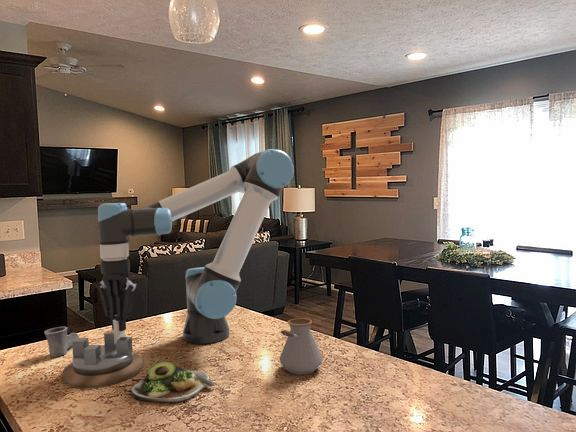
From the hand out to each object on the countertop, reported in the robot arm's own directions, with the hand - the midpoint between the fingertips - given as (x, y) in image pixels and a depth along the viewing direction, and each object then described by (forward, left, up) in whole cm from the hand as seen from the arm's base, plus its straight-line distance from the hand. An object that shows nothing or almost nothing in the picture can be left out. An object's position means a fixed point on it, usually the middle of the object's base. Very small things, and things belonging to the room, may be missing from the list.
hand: (119, 341), depth 129 cm
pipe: (+22, -11, -7) cm, 26 cm away
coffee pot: (-49, +10, -7) cm, 51 cm away
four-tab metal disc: (+3, +5, -4) cm, 7 cm away
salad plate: (-18, +15, -7) cm, 25 cm away
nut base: (+3, +5, -6) cm, 9 cm away
